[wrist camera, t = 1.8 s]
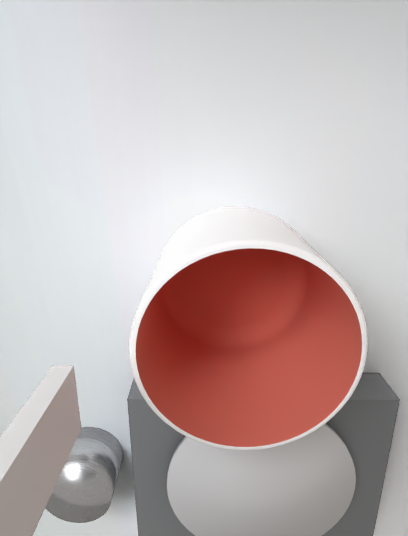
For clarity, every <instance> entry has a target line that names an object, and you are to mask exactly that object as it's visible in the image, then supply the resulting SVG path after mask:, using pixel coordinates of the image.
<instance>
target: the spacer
mask: <svg viewBox="0 0 408 536" xmlns="http://www.w3.org/2000/svg"><path fill="white" fill-rule="evenodd" d="M122 458H123V450H122V447H121V445H120V443H119V441H118V440H117V439H116V438H115V437H114V436H113V435H112V434H110V433H109V432H107V431H105V430H102V429H99V428H94V427H83V428H81V430H80V432H79V435H78V437H77V439H76V441H75V443H74V446H73V448H72V450H71V452H70V454H69V457H68V459H67V461H66V463H65V465H64V467H63V470H62V472H61V474H60V476H59V478H58V481H57V483H56V485H55V487H54V489H53V492H52V494H51V496H50V498H49V500H48V503H47V505H46V507H45V508H46V509H47V510H48V511H49V512H50V513H51V514H53V515H54V516H56V517H58V518H60V519H62V520H65V521H69V522H75V523H84V522H90V521H93V520H96V519H98V518H100V517H101V516H102V515H104V514H105V513H106V511H107V510H108V508H109V506H110V503H111V499H112V496H113V492H114V488H115V484H116V481H117V477H118V473H119V470H120V466H121V462H122Z"/></svg>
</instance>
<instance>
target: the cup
mask: <svg viewBox="0 0 408 536" xmlns="http://www.w3.org/2000/svg"><path fill="white" fill-rule="evenodd" d="M367 350H368V333H367V326H366V320H365V317H364V313H363V310H362V308H361V305H360V303H359V301H358V299H357V297H356V295H355V293H354V292H353V290H352V289H351V287H350V286H349V284H348V283H347V282H346V280H345V279H344V278H343V277H342V276H341V275H340V274H339V273H338V272H337V271H336V270H335V269H334V268H333V267H332V266H331V265H330V264H329V263H328V262H326V261H325V260H324V259H323V258H322V257H321V256H320V255H319V254H318V253H317V252H316V251H315V250H314V249H313V248H312V247H310V246H309V245H308V244H307V243H306V242H305V241H304V240H303V239H302V238H301V237H300V236H299V235H298V234H297V233H296V232H295V231H293V230H292V229H291V228H290V227H289V226H288V225H287V224H286V223H284V222H283V221H282V220H280V219H279V218H277V217H275V216H273V215H272V214H269V213H267V212H265V211H262V210H258V209H255V208H250V207H242V206H230V207H221V208H216V209H213V210H209V211H206V212H204V213H202V214H200V215H197V216H196V217H194V218H192V219H191V220H189V221H188V222H186V223H185V224H184V225H182V226H181V227H180V228H179V229H178V230H177V231H176V232H175V233H174V235H173V236H172V237H171V238H170V240H169V241H168V242H167V244H166V246H165V248H164V249H163V251H162V254H161V256H160V258H159V261H158V263H157V265H156V267H155V270H154V272H153V274H152V277H151V279H150V281H149V284H148V286H147V288H146V291H145V293H144V295H143V298H142V300H141V302H140V305H139V307H138V309H137V312H136V314H135V317H134V320H133V323H132V328H131V333H130V341H129V355H130V363H131V368H132V372H133V376H134V379H135V382H136V384H137V386H138V389H139V390H140V392H141V394H142V396H143V398H144V399H145V401H146V402H147V404H148V405H149V406H150V408H151V409H152V410H153V411H154V412H155V413H156V414H157V415H158V417H160V418H161V419H162V420H163V421H164V422H165V423H167V424H168V425H169V426H171V427H172V428H173V429H175V430H176V431H178V432H179V433H181V434H183V435H185V436H186V437H188V438H191V439H193V440H195V441H197V442H200V443H203V444H206V445H210V446H214V447H218V448H224V449H231V450H259V449H266V448H272V447H276V446H280V445H284V444H287V443H290V442H293V441H295V440H297V439H300V438H302V437H304V436H306V435H308V434H310V433H311V432H313V431H315V430H317V429H318V428H319V427H321V426H322V425H324V424H325V423H326V422H328V421H329V420H330V419H331V418H332V417H334V415H335V414H336V413H337V412H338V411H339V410H340V409H341V408H342V407H343V406H344V405H345V403H346V402H347V401H348V400H349V398H350V397H351V395H352V394H353V392H354V390H355V389H356V387H357V385H358V383H359V380H360V378H361V376H362V373H363V370H364V367H365V362H366V358H367Z"/></svg>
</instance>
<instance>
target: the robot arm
mask: <svg viewBox="0 0 408 536" xmlns="http://www.w3.org/2000/svg"><path fill="white" fill-rule="evenodd" d="M80 430H81V422H80V414H79V406H78V398H77V389H76V381H75V373H74V366H52V367H51V368H50V370H49V371H48V372H47V374H46V375H45V377H44V378H43V379H42V381H41V382H40V383H39V385H38V386H37V388H36V389H35V390H34V392H33V393H32V394H31V396H30V397H29V398H28V400H27V401H26V403H25V404H24V405H23V407H22V408H21V409H20V411H19V412H18V414H17V415H16V416H15V418H14V419H13V420H12V422H11V423H10V425H9V426H8V427H7V429H6V430H5V431H4V433H3V434H2V435H1V437H0V536H32V535H33V533H34V531H35V529H36V527H37V524H38V522H39V520H40V518H41V516H42V513H43V511H44V509H45V507H46V505H47V503H48V500H49V498H50V496H51V494H52V492H53V489H54V487H55V485H56V483H57V481H58V478H59V476H60V474H61V472H62V470H63V467H64V465H65V463H66V461H67V459H68V457H69V454H70V452H71V450H72V448H73V446H74V443H75V441H76V439H77V437H78V435H79V432H80Z"/></svg>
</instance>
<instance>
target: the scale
mask: <svg viewBox="0 0 408 536" xmlns="http://www.w3.org/2000/svg"><path fill="white" fill-rule="evenodd" d="M127 401H128V414H129V426H130V438H131V450H132V463H133V475H134V487H135V500H136V512H137V524H138V536H373V534H374V529H375V524H376V518H377V513H378V508H379V503H380V498H381V493H382V488H383V483H384V478H385V472H386V467H387V462H388V457H389V452H390V447H391V442H392V437H393V432H394V426H395V421H396V416H397V411H398V406H399V401H400V399H399V398H398V397H397V396H396V394H395V393H394V392H393V390H392V389H391V388H390V386H389V385H388V384H387V383H386V381H385V380H384V379H383V377H382V376H381V375H380V373H362V376H361V378H360V380H359V383H358V385H357V387H356V389H355V390H354V392H353V394H352V395H351V397H350V398H349V400H348V401H347V402H346V403H345V405H344V406H343V407H342V408H341V409H340V410H339V411H338V412H337V413H336V414H335V415H334V417H332V418H331V419H330V420H329V421H328V422H326V423H325V424H324V425H322V426H321V427H319V428H318V429H317V430H315V431H313V432H311V433H310V434H308V435H306V436H304V437H302V438H300V439H297V440H295V441H293V442H290V443H287V444H284V445H280V446H276V447H272V448H266V449H259V450H231V449H224V448H218V447H214V446H210V445H206V444H203V443H200V442H197V441H195V440H193V439H191V438H188V437H186V436H185V435H183V434H181V433H179V432H178V431H176V430H175V429H173V428H172V427H171V426H169V425H168V424H167V423H165V422H164V421H163V420H162V419H161V418H160V417H158V415H157V414H156V413H155V412H154V411H153V410H152V409H151V408H150V406H149V405H148V404H147V402H146V401H145V399H144V398H143V396H142V394H141V392H140V390H139V389H138V386H137V384H136V382H135V379H134V380H133V383H132V386H131V389H130V392H129V395H128V399H127Z"/></svg>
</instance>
